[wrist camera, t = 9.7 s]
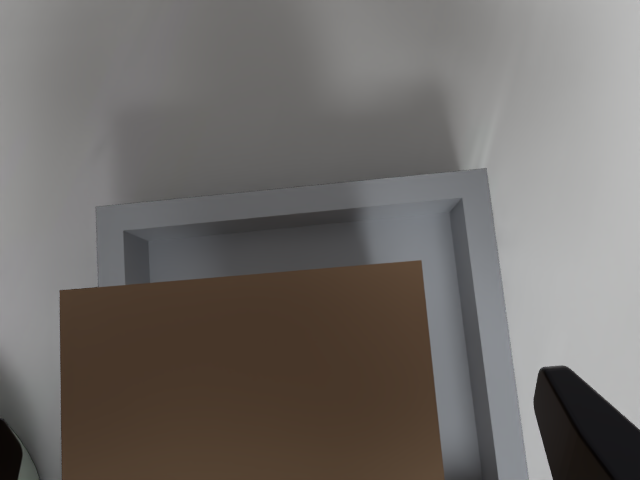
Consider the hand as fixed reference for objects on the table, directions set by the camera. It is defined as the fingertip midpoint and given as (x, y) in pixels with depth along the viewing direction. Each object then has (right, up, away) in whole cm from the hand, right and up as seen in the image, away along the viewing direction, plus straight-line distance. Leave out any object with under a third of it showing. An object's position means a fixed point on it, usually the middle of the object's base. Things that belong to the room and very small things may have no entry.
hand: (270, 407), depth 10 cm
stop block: (0, -2, +9) cm, 9 cm away
